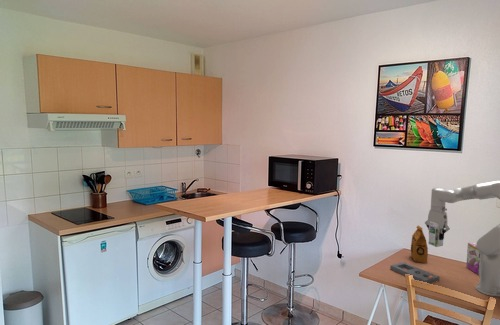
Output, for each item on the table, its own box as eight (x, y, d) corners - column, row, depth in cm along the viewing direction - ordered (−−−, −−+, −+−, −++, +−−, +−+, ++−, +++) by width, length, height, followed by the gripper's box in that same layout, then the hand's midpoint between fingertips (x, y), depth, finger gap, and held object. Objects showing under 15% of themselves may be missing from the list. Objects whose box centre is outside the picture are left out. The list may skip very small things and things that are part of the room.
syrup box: (427, 244, 204) (429, 220, 203) (435, 243, 206) (436, 219, 205) (436, 247, 199) (437, 223, 198) (443, 246, 201) (444, 222, 200)
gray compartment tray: (439, 280, 194) (439, 275, 194) (424, 285, 189) (425, 279, 189) (403, 265, 216) (404, 260, 215) (390, 269, 210) (390, 264, 210)
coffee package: (411, 262, 222) (413, 229, 220) (409, 255, 234) (411, 224, 232) (428, 264, 219) (430, 231, 216) (425, 257, 230) (427, 225, 228)
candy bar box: (465, 267, 213) (467, 242, 211) (473, 267, 213) (475, 242, 212) (477, 275, 202) (479, 248, 200) (486, 275, 202) (488, 248, 200)
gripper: (456, 211, 194) (454, 241, 196) (428, 205, 210) (427, 233, 212) (447, 212, 191) (445, 243, 193) (420, 206, 207) (419, 234, 208)
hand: (436, 237), depth 202 cm, fingers closed on syrup box, 6 cm apart
